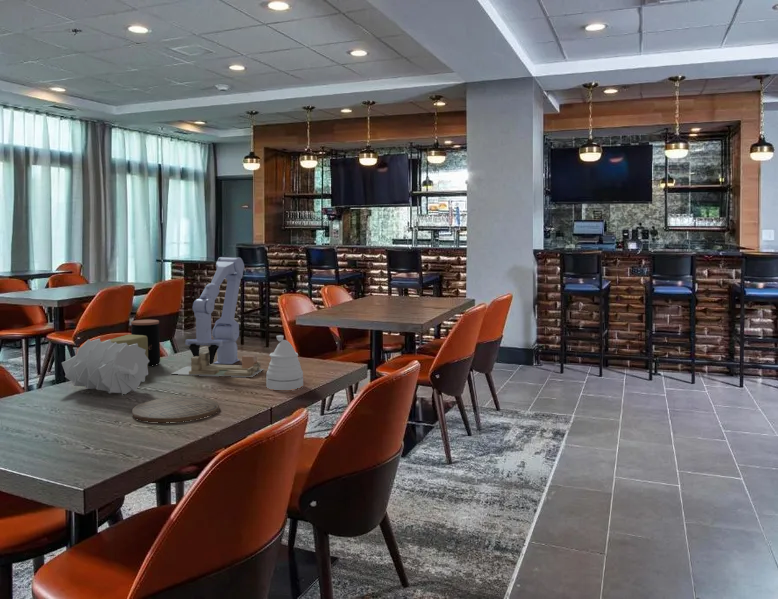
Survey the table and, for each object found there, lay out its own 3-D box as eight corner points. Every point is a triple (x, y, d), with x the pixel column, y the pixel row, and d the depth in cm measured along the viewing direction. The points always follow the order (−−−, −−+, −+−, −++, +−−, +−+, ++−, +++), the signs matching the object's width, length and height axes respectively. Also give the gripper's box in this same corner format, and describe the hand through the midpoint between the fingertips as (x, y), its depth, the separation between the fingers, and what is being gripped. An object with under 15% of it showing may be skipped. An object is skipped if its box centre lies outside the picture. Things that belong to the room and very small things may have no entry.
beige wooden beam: (202, 366, 261) (201, 351, 260) (260, 368, 258) (260, 353, 258) (197, 369, 256) (196, 353, 255) (256, 371, 253) (256, 355, 253)
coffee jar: (126, 366, 264) (125, 322, 262) (143, 361, 274) (142, 319, 272) (149, 368, 260) (147, 323, 259) (165, 363, 271) (164, 320, 269)
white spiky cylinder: (95, 396, 232) (146, 401, 221) (52, 383, 217) (105, 388, 206) (110, 346, 238) (161, 349, 226) (70, 331, 223) (122, 333, 212)
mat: (186, 367, 263) (186, 366, 263) (263, 370, 259) (263, 368, 259) (170, 374, 249) (170, 373, 249) (252, 377, 245) (252, 376, 245)
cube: (246, 365, 258) (246, 354, 258) (257, 366, 258) (257, 354, 257) (242, 367, 254) (242, 356, 254) (253, 368, 253) (253, 356, 253)
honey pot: (258, 388, 229) (258, 337, 227) (281, 381, 240) (280, 332, 238) (288, 392, 223) (288, 340, 221) (310, 385, 234) (310, 335, 232)
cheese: (110, 385, 231) (108, 343, 229) (87, 383, 234) (85, 342, 232) (149, 373, 252) (148, 334, 251) (128, 371, 255) (127, 333, 253)
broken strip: (194, 371, 254) (194, 355, 253) (254, 373, 251) (254, 357, 250) (188, 373, 249) (188, 358, 248) (250, 376, 246) (249, 360, 245)
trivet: (118, 412, 198) (118, 406, 198) (194, 398, 215) (194, 392, 215) (155, 430, 180) (155, 423, 180) (235, 413, 198) (234, 407, 197)
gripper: (181, 330, 254) (182, 364, 255) (217, 331, 252) (218, 366, 253) (189, 327, 261) (190, 361, 262) (224, 328, 259) (224, 362, 260)
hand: (204, 363), depth 258 cm, fingers open, 5 cm apart
